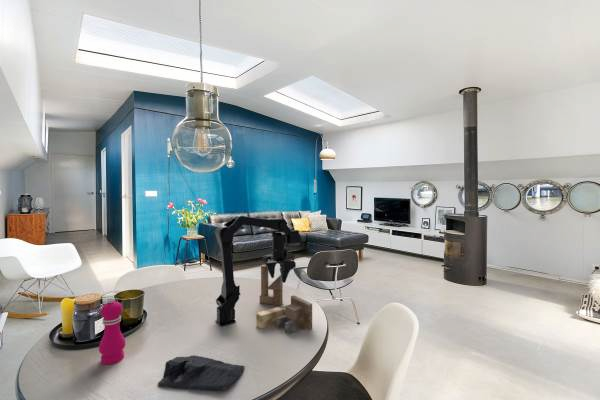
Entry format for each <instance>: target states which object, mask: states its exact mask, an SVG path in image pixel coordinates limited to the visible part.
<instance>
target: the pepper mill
mask: <svg viewBox="0 0 600 400" xmlns="http://www.w3.org/2000/svg"><path fill="white" fill-rule="evenodd" d="M107 301H108V302H107V303H104V304H103V306H101V309H100V316H101V317H102V324H103V325H104V332H103V336H102V337H101V340H100V341H99V345H98V352H99V353H100V355H101V356H100V363H101V364H102V365H104V366H105V365H106V366H107V365H113V364H116V363H119V362H120V361H122V360H123V359H124V358H125V350H124V348H125V347H126V338H125V337H124V335H123V333H122V331H121V328H120V322H121V320H122V315H121V314H122V313H123V310H124V308H123V305H122V303H121V302H119V301H116V299H115V298H114V297H109V299H108V300H107Z"/></svg>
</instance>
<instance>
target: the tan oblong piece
mask: <svg viewBox="0 0 600 400" xmlns="http://www.w3.org/2000/svg"><path fill="white" fill-rule="evenodd" d="M284 315H285V307H284V308H282V307H280V306H276V307H273V308H269V309H267V310H262V311H259V312H256V314H255V316H256V321H255V322H256V326H257V327H258V328H260V329H263V328H267V327H271V326H273V325H277V317H280V316H284Z"/></svg>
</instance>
